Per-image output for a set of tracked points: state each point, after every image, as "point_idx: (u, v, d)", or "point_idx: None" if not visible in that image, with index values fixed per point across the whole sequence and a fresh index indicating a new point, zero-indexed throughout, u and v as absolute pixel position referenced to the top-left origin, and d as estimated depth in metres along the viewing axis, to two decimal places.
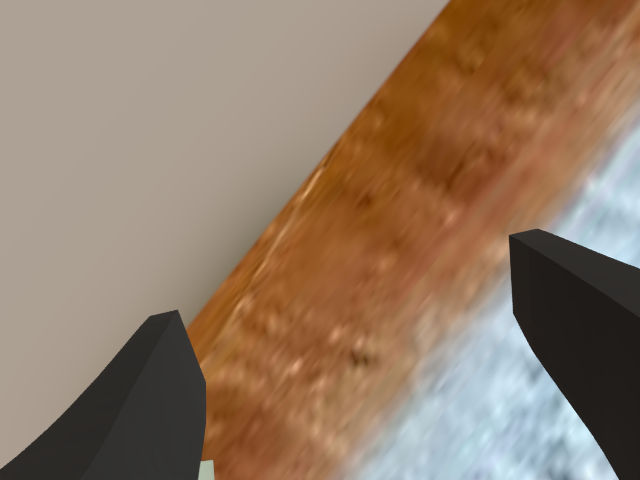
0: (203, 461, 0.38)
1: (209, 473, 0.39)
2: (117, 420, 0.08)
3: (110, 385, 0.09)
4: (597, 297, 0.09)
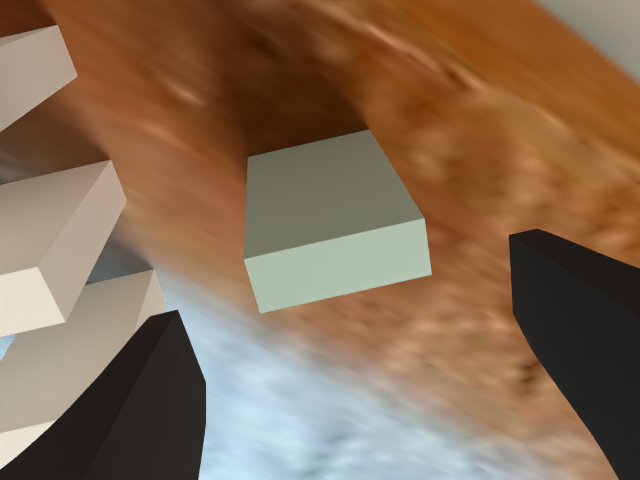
0: None
1: None
2: (116, 420, 0.08)
3: (110, 385, 0.09)
4: (597, 297, 0.09)
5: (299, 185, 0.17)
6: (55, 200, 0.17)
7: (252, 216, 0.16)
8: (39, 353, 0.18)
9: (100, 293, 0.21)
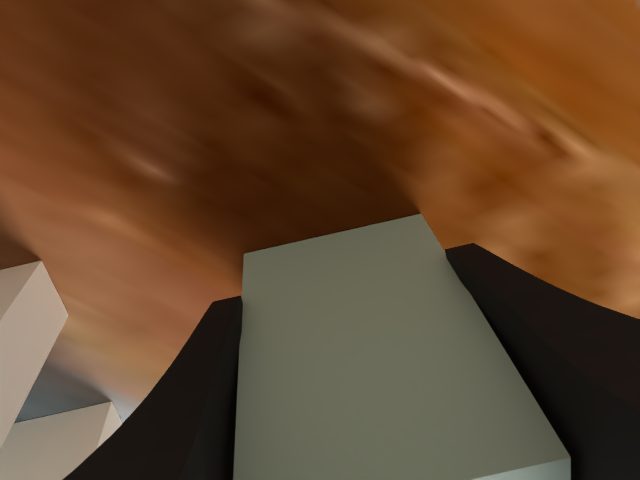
0: None
1: None
2: (207, 400, 0.08)
3: (191, 367, 0.09)
4: (512, 316, 0.09)
5: (324, 328, 0.11)
6: None
7: (248, 400, 0.09)
8: None
9: (32, 444, 0.15)
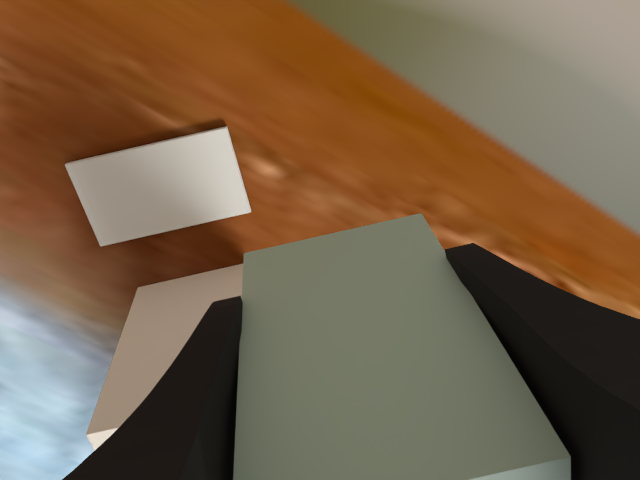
0: None
1: None
2: (206, 400, 0.08)
3: (190, 367, 0.09)
4: (512, 317, 0.09)
5: (324, 328, 0.11)
6: None
7: (248, 400, 0.09)
8: None
9: None
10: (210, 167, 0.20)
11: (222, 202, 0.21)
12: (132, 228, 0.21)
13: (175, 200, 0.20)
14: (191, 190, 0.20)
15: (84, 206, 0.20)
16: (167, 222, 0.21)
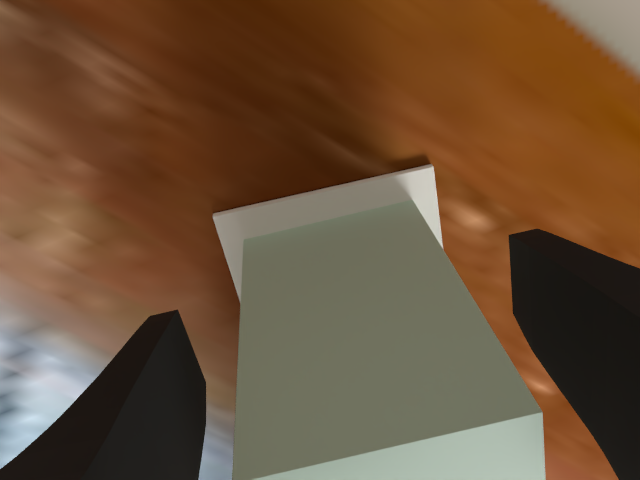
0: None
1: None
2: (117, 419, 0.08)
3: (110, 385, 0.09)
4: (597, 297, 0.09)
5: (319, 306, 0.11)
6: None
7: (248, 370, 0.10)
8: None
9: None
10: None
11: None
12: None
13: None
14: None
15: (230, 269, 0.15)
16: None
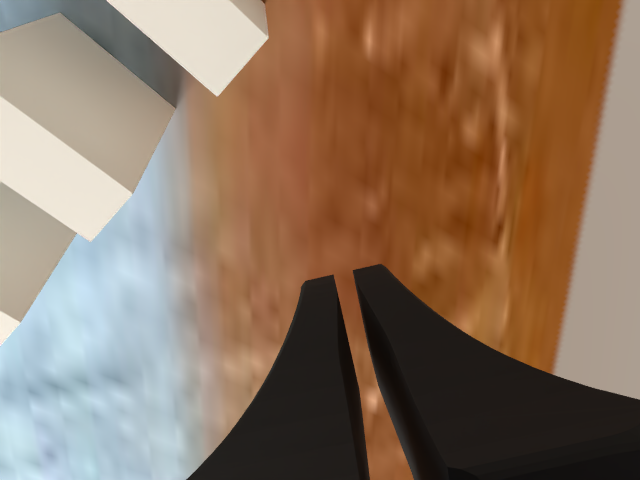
0: None
1: None
2: (340, 369, 0.08)
3: (310, 340, 0.09)
4: (389, 344, 0.09)
5: None
6: None
7: None
8: (56, 66, 0.15)
9: (123, 76, 0.18)
10: None
11: None
12: None
13: None
14: None
15: None
16: None
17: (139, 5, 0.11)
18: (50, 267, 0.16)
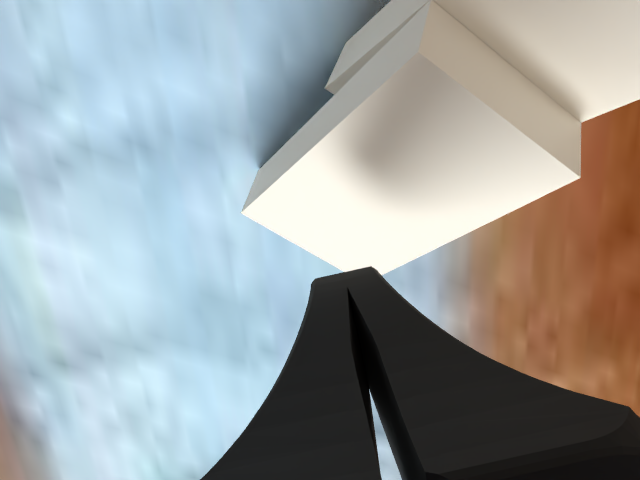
0: None
1: None
2: (355, 366, 0.08)
3: (322, 337, 0.09)
4: (376, 347, 0.09)
5: None
6: None
7: None
8: None
9: None
10: None
11: None
12: None
13: None
14: None
15: None
16: None
17: None
18: None
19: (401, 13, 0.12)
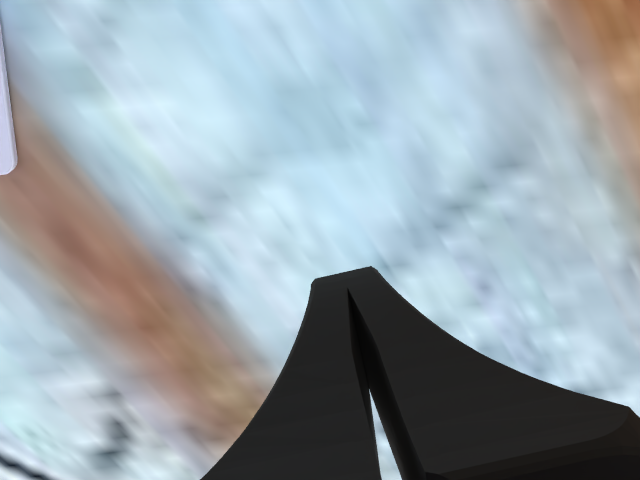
0: None
1: None
2: (354, 367, 0.08)
3: (322, 337, 0.09)
4: (376, 347, 0.09)
5: None
6: None
7: None
8: None
9: None
10: None
11: None
12: None
13: None
14: None
15: None
16: None
17: None
18: None
19: None
